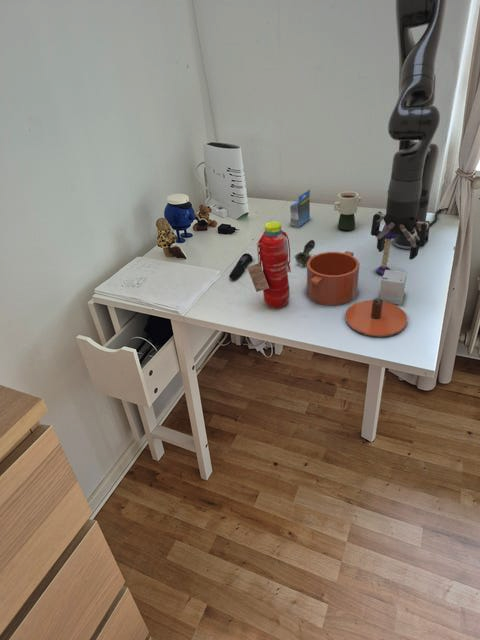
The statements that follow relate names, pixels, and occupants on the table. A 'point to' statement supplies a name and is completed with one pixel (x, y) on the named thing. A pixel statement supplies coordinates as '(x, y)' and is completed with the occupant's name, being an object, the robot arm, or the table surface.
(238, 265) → the electric trimmer
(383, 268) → the purple tan pedestal column
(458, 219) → the table surface
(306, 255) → the eagle figurine
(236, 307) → the table surface
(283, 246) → the water bottle
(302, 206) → the tape cartridge
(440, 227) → the table surface
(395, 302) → the white cardboard box
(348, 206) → the character mug
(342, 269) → the pot
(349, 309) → the pot lid
